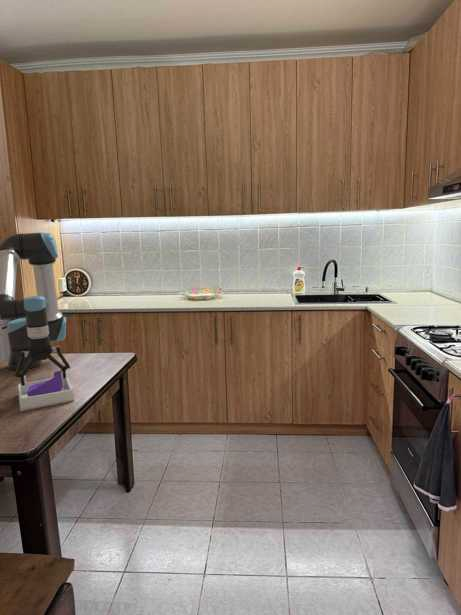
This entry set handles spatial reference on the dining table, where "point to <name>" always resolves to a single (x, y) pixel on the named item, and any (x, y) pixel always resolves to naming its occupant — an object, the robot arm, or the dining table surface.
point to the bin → (45, 396)
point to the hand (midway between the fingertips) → (45, 389)
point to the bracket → (46, 386)
